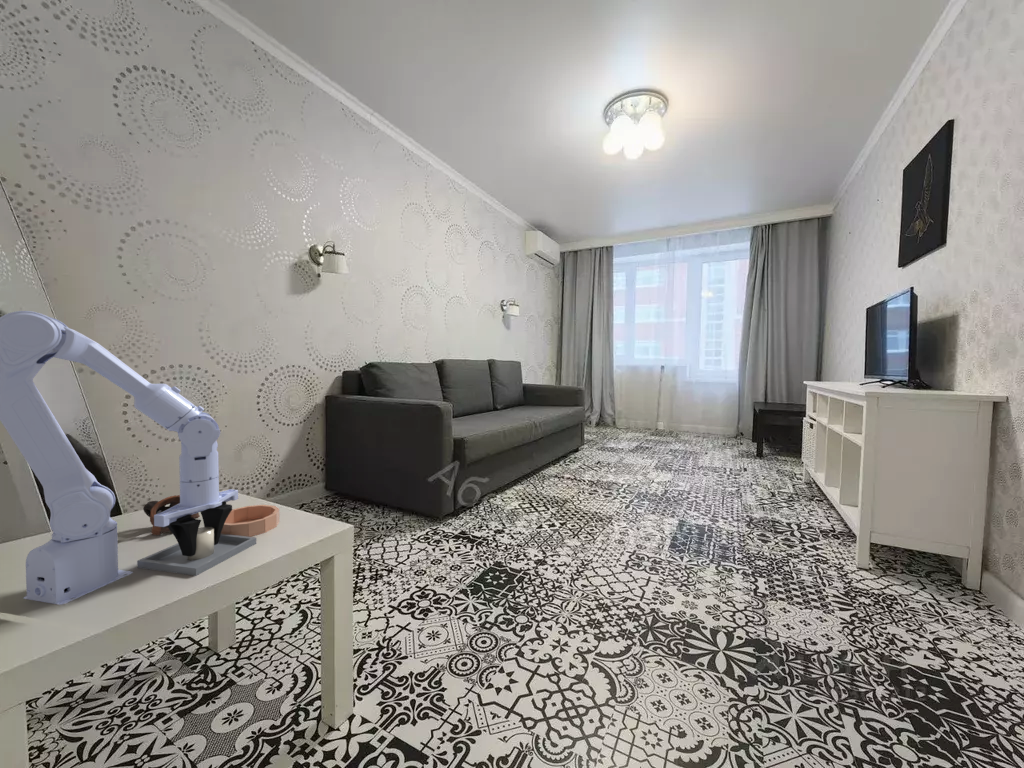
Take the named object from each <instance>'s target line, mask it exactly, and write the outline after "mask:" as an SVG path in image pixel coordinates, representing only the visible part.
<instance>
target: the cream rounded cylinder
mask: <svg viewBox="0 0 1024 768" xmlns="http://www.w3.org/2000/svg"><path fill="white" fill-rule="evenodd" d="M213 553H214V528H213V527H204V526H203V527H199V528H198V532H197V538H196V553H195V555H193V556H187V559H189V560H197V559H202V558H205V557H208V556H210V555H212V554H213Z"/></svg>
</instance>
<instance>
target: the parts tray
mask: <svg viewBox="0 0 1024 768" xmlns="http://www.w3.org/2000/svg"><path fill="white" fill-rule="evenodd" d="M256 544H257V537H255V536H252V537H247V536H238V535H229V534H221V535H220V538H219V542H218V544H216V545H214V553H213V554H212V555H210V556H208V557H205V558H202V559H197V560H189V559H187V556H183V555H182V552H181V549H180V546H179V544H178V542H177V543H175V544H173V545H171V546H169V547H166V548H163V549H162V550H158V551H157V552H154V553H152V554H150V555H148V556H145V557H142V558H140V559H138V560H136V567H137V568H138V569H145V570H146V569H147V570H151V571H160V572H167V573H173V574H180V575H181V574H182V575H188V576H196V577H197V576H198V575H200V574H203V573H204V572H206V571H207V570H209V569H212V568H214V567H215V566H217V565H220V564H221V563H223V562H225V561H227V560H228V559H231V558H233V557H234V556H236V555H238V554H240V553H241V552H243V551H245V550H247V549H249V548H251V547H253V546H255V545H256Z"/></svg>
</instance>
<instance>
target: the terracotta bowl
mask: <svg viewBox="0 0 1024 768" xmlns="http://www.w3.org/2000/svg"><path fill="white" fill-rule="evenodd" d="M280 522H281V521H280V508H279V507H278V506H275V505H269V504H256V505H255V504H253V505H246V506H241V507H237V508H232V511H231V512H230V514H229V515H228V517H227V519H226V521H225V523H224V525H223V528H222V531H221V534H229V535H238V536H247V537H255V536H258V535H262V534H265V533H267V532H270V531H271V530H274V529H275V528H277V527H278V525H279V523H280Z"/></svg>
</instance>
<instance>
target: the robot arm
mask: <svg viewBox="0 0 1024 768" xmlns="http://www.w3.org/2000/svg"><path fill="white" fill-rule="evenodd" d="M52 358H55V359H59V360H64V361H69V362H70V361H71V362H73V363H74V362H75V363H79V364H82V365H84V366H86V367H88V368H90V369H91V370H93V371H94V372H96V373H97V374H99V375H100V376H102V377H104V378H105V379H107V380H108V381H109V382H111V383H113V384H114V385H116V386H117V387H118V388H121V389H122V390H123V391H125V392H126V393H128V394H129V395H131V396H132V397H133V398H134V400H133V401H134V402H133V403H134V404H133V406H134V408H135V409H136V410H137V411H139V412H141V413H142V414H143V415H145V416H147V417H148V418H149V419H151V420H152V421H154V422H155V423H156V424H158V425H159V426H161V427H163V428H164V429H166V431H169V432H176V433H177V435H178V436H177V437H178V439H179V441H180V455H179V458H178V459H179V462H178V463H179V495H180V503H179V504H177V505H175V506H173V507H171V508H169V509H167V510H165V511H163V512H161V513H159V514H156V515H154V526H159V527H165V526H167V527H168V528H169V530H170V531H169V532H171V534H172V535H173V536H174V539H176V542H177V543H178V544H179V546H180V549H181V552H182V555H183V556H193V555H195V553H196V538H197V532H198V528H200V525H201V522H202V521H203V527H213V528H214V545H216V544H218V542H219V538H220V535H221V531H222V528H223V525H224V523H225V521H226V519H227V517H228V515H229V514H230V512H231V511H232V509H233V505H232V504H229V503H228V502H231V501H236V500H238V499H239V490H238V489H234V488H233V489H232V488H231V489H227V490H223V491H220V488H219V487H220V481H219V480H220V479H219V477H220V472H219V471H220V470H219V469H220V468H219V459H220V458H219V451H218V446H219V444H218V441H217V440H218V439H219V437H221V436H220V435H221V430H220V427H219V425H218V422H217V421H216V420H215V419H214V418H213V417H212V416H211V414H210V413H208V412H203V411H205V409H204V407H203V406H201V405H198V406H196V405H195V404H194V403H193V402H192V401H190V400H189V399H188V398H185V397H184V396H183V395H182V394H180V393H181V389H180V388H178V387H177V386H175V385H174V386H172V387H171V386H170V385H168V384H167V383H151V382H150V381H148V380H147V379H145V378H144V377H143V376H142V375H141V374H139V373H138V372H137V371H135V370H134V369H133V368H131V367H130V366H129V365H128V364H126V363H125V362H124V361H122V359H120V358H118V357H117V356H116V355H114V354H113V353H112V352H111V351H109V350H108V349H107V348H105V347H104V346H103V345H101V344H100V343H99V342H97V341H95V340H93V339H91V338H90V337H88V336H87V335H85V334H83V333H81V332H79V331H78V330H75V329H73V328H70V327H69V326H68V325H66V324H65V323H64V322H62V321H61V320H59V319H56V318H55V317H51V316H48V315H46V314H43V313H42V312H41V313H40V312H36V311H32V310H19V311H18V310H16V311H12V312H8V313H6V314H3V315H2V316H0V422H1V424H2V425H3V427H4V428H5V430H6V432H7V433H8V435H9V436H10V438H11V440H12V441H13V443H14V444H15V445H16V447H17V449H18V450H19V452H20V453H21V455H22V457H23V458H24V460H25V461H26V463H27V464H28V465H29V468H30V469H31V471H32V472H33V474H34V475H35V477H36V478H37V479H38V481H39V482H40V484H41V486H42V488H43V495H44V500H45V503H46V506H47V507H48V508H49V511H50V519H49V527H50V530H51V531H52V534H51V538H50V539H49V540H48V541H47V542H45V543H44V544H42V545H39V546H37V547H35V548H32V549H31V550H30V551H29V552H28V554H27V556H26V559H25V581H26V582H25V584H26V585H25V586H26V587H25V588H26V595H25V596H24V597H23V599H24V600H30V601H35V602H36V601H37V602H42V603H46V604H47V603H48V604H54V605H59V606H60V605H64V604H65V605H66V604H68V603H70V602H72V601H74V600H76V599H79V598H80V597H84V596H85V595H87V594H89V593H92V592H94V591H96V590H99V589H100V588H103V587H105V586H108V585H110V584H112V583H115V582H116V581H118V580H120V579H122V578H125V577H127V576H130V575H131V574H133V573H134V572H133V571H129V570H124V569H123V570H122V569H119V551H118V550H119V549H118V548H119V547H118V545H119V543H118V542H119V541H118V539H119V538H118V521H116V520H114V518H112V517H111V511H112V510H113V508H114V507H115V505H116V496H115V493H114V491H112V490H111V489H110V488H109V487H108V486H105V485H103V484H101V483H100V482H98V480H97V478H96V477H95V475H94V474H93V473H91V471H89V470H88V469H87V468H86V467H85V465H84V463H83V462H82V460H81V459H80V457H79V455H78V454H77V452H76V450H75V448H74V447H73V445H72V443H71V442H70V440H69V438H68V437H67V435H66V434H65V432H64V430H63V429H62V427H61V425H60V424H59V421H58V420H57V419H56V416H55V415H54V414H53V412H52V411H51V409H50V407H49V405H48V404H47V402H46V400H45V399H44V397H43V395H42V394H41V392H40V391H39V389H38V387H37V386H36V384H35V382H34V378H35V377H36V375H37V374H38V373H39V372H40V371H41V369H42V368H44V366H45V364H46V363H47V362H48V361H49V360H51V359H52ZM227 503H228V504H227ZM196 513H200V514H201V515H200V516H201V518H202V520H201V519H199V518H194V517H191V515H193V514H196Z"/></svg>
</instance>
